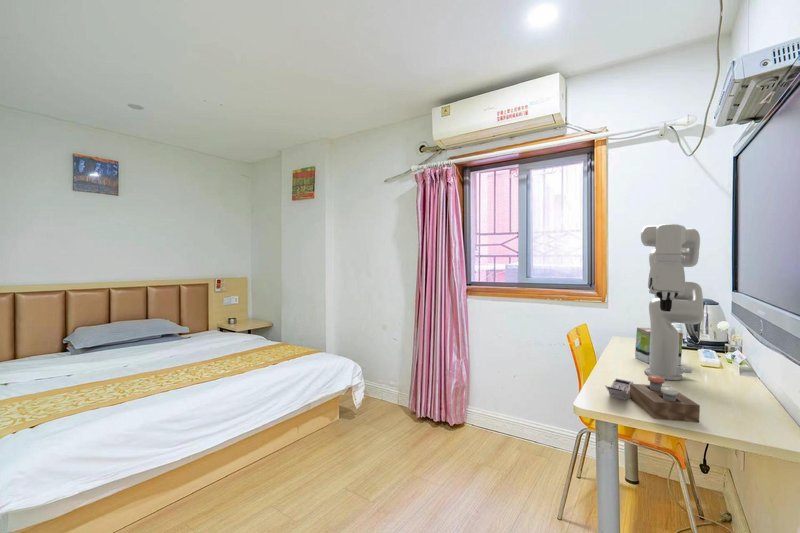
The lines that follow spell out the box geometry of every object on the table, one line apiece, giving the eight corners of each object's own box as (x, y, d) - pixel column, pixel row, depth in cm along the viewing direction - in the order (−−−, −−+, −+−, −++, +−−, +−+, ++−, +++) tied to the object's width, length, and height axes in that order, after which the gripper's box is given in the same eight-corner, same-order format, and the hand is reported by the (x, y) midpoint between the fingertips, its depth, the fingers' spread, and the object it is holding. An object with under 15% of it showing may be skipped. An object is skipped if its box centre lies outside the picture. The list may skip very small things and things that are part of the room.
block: (668, 400, 123) (669, 386, 123) (699, 422, 107) (699, 405, 107) (629, 398, 125) (630, 383, 125) (653, 418, 109) (654, 402, 109)
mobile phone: (604, 385, 121) (616, 367, 140) (603, 403, 121) (616, 382, 141) (625, 390, 117) (635, 371, 137) (624, 408, 117) (634, 386, 137)
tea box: (647, 363, 166) (649, 331, 166) (634, 357, 176) (635, 327, 176) (682, 364, 166) (683, 332, 165) (666, 358, 176) (667, 327, 175)
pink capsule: (659, 397, 122) (660, 375, 122) (666, 402, 118) (667, 380, 117) (644, 396, 123) (645, 374, 123) (651, 401, 118) (652, 379, 118)
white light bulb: (672, 409, 114) (673, 387, 114) (681, 416, 110) (682, 392, 110) (657, 408, 115) (658, 385, 115) (664, 414, 111) (665, 391, 110)
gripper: (684, 259, 133) (682, 310, 133) (639, 258, 135) (637, 308, 136) (698, 259, 125) (695, 313, 126) (649, 259, 128) (647, 311, 128)
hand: (665, 310), depth 131 cm, fingers closed
